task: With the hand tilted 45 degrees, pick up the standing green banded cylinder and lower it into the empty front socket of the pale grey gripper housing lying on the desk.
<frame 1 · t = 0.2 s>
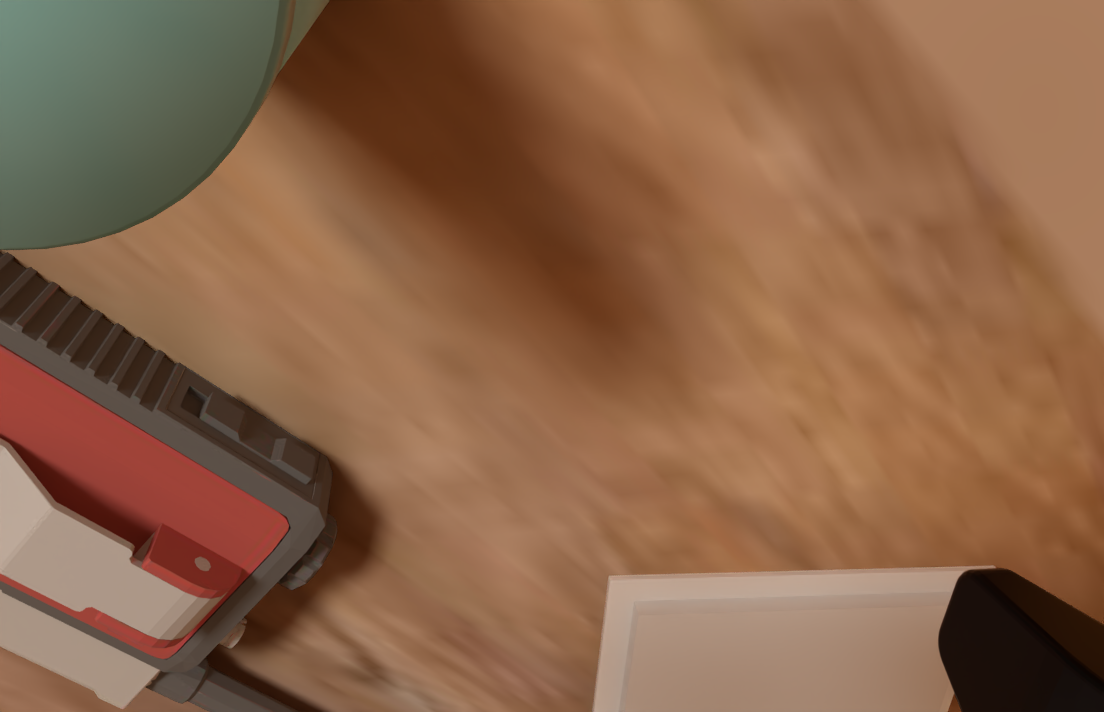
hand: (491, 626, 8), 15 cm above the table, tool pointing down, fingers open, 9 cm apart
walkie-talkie: (170, 509, 25), on the table
lid: (776, 656, 30), on the table
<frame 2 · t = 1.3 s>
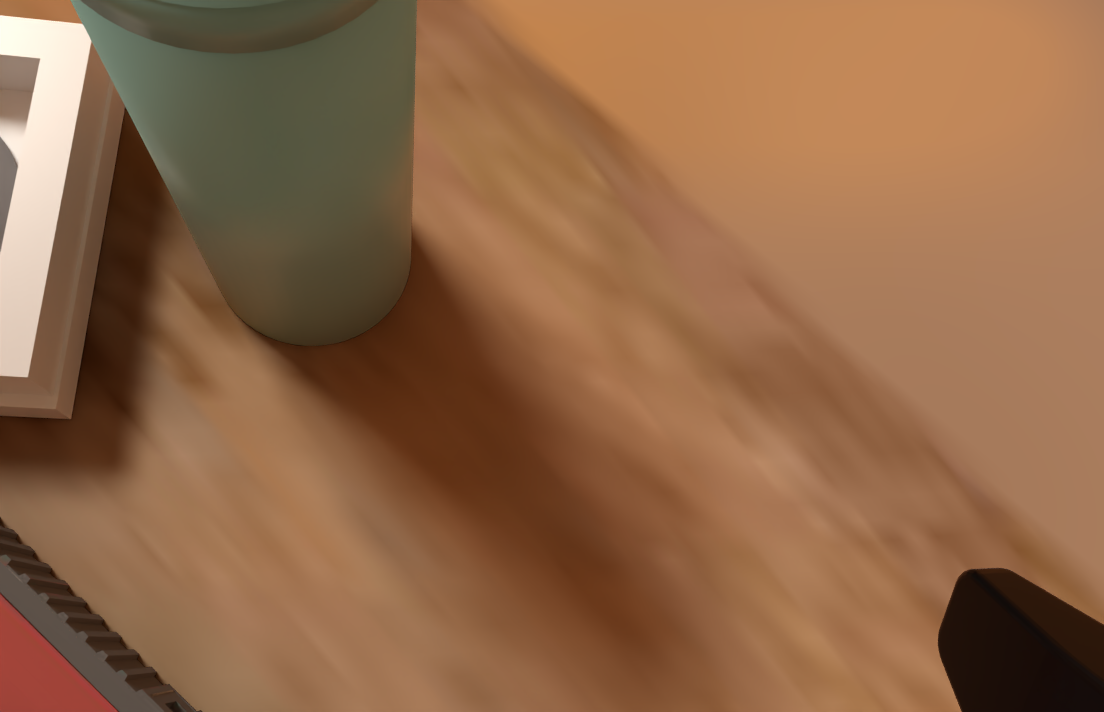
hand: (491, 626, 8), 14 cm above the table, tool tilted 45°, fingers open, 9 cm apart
green banded cylinder: (313, 254, 24), on the table
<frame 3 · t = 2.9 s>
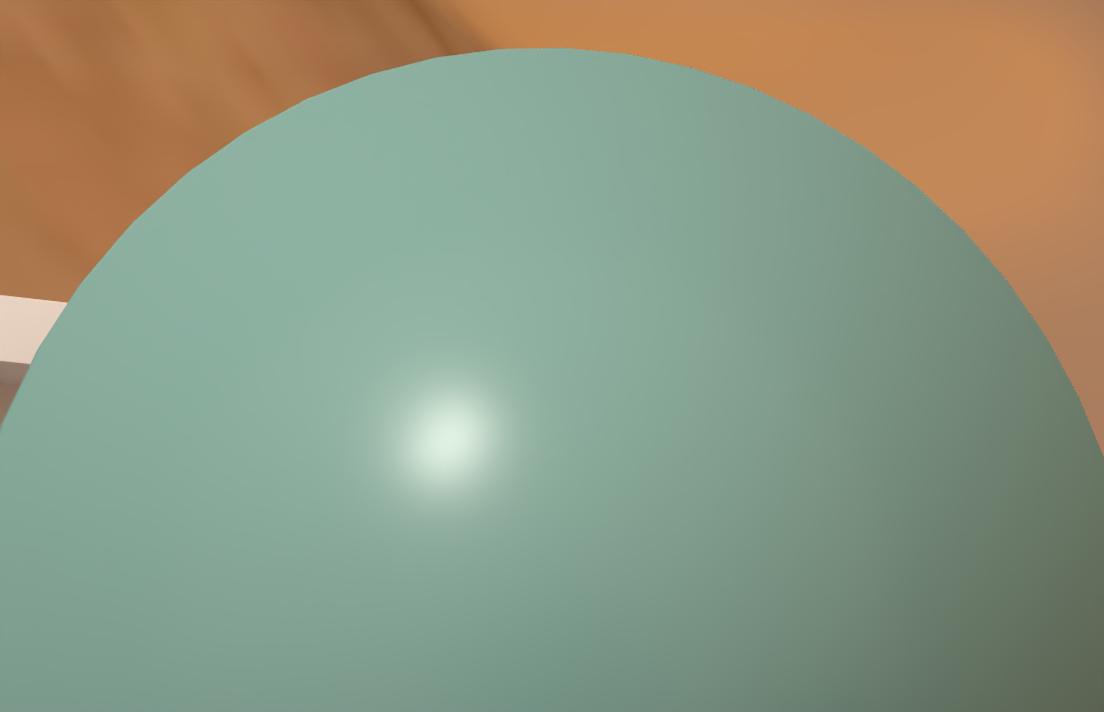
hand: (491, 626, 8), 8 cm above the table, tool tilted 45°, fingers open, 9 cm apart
green banded cylinder: (449, 628, 16), on the table
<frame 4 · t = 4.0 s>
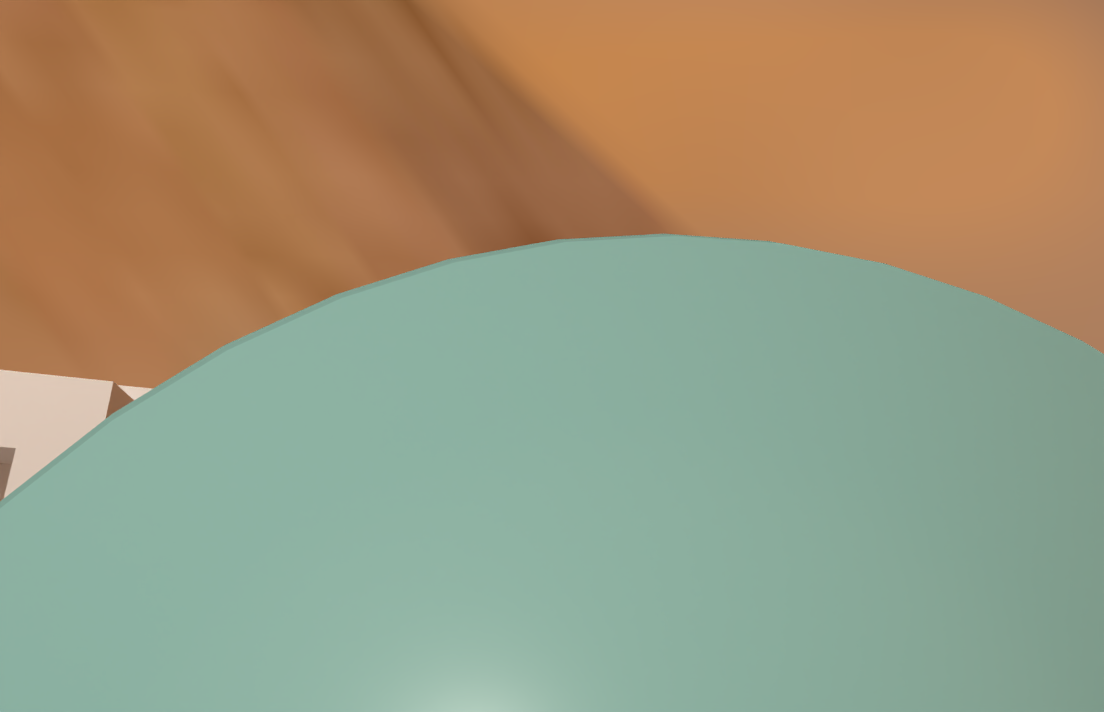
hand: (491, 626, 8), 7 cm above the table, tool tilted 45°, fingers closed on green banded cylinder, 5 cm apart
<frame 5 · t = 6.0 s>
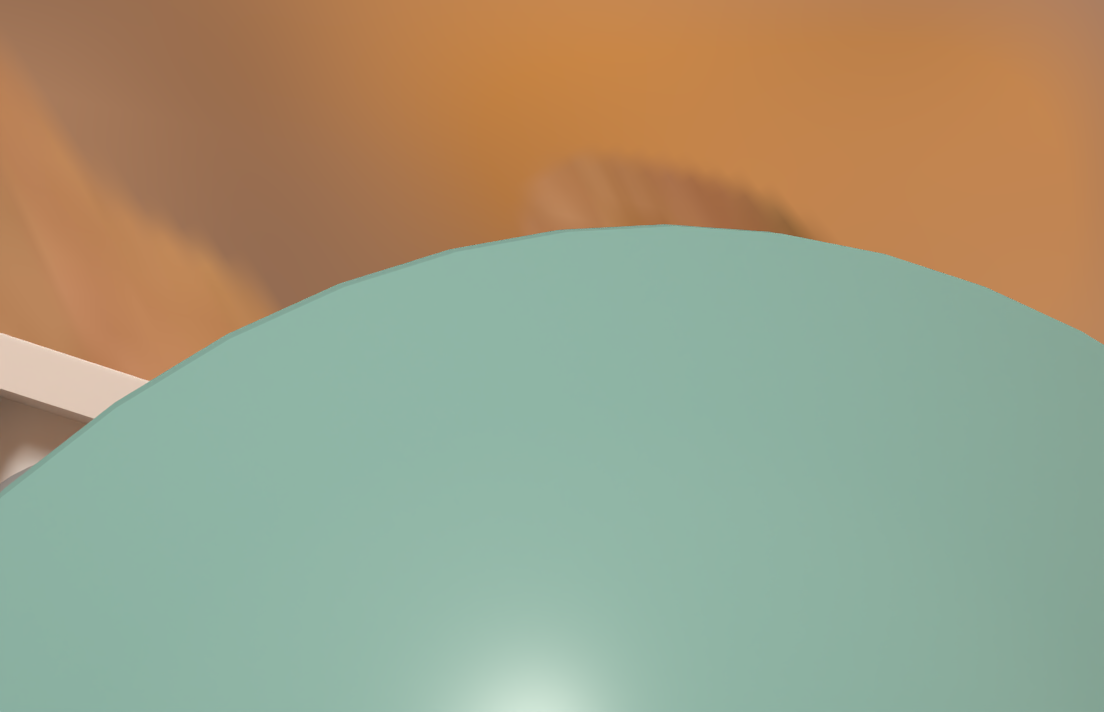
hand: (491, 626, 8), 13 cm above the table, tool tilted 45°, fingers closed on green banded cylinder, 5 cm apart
housing: (262, 643, 21), on the table
when the fingers open (9 cm above the table, at t = 7.4 s): green banded cylinder drops 1 cm, resting on housing.
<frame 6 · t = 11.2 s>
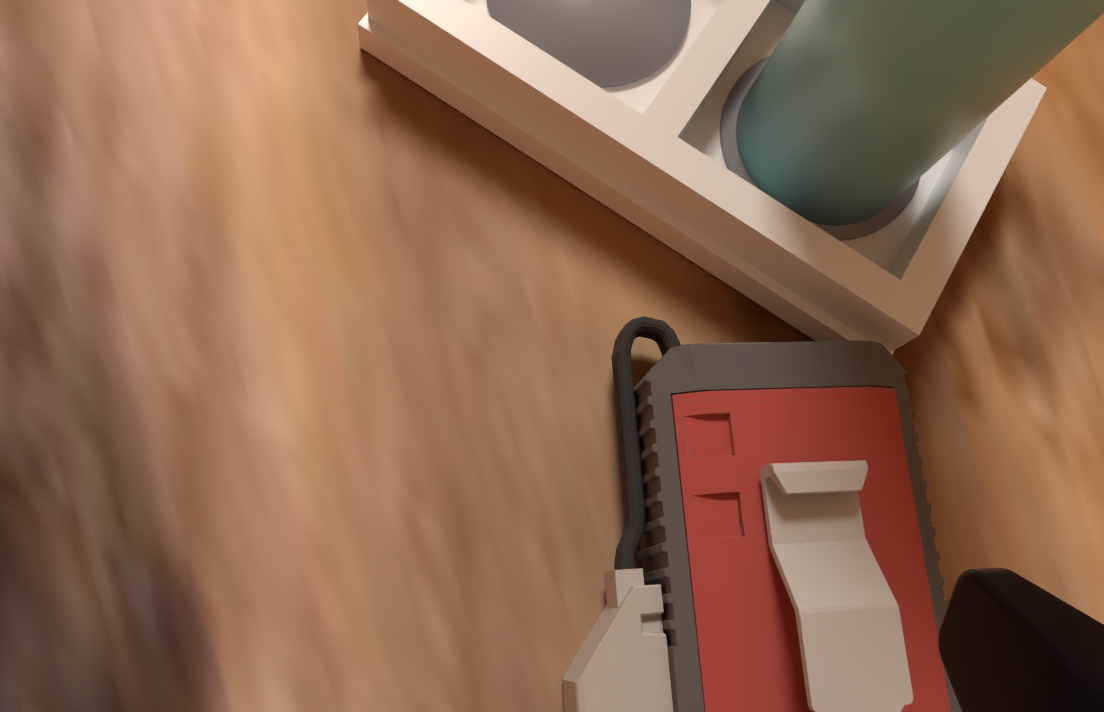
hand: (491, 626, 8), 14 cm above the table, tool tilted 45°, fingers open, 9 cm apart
green banded cylinder: (822, 142, 25), point 1 cm above the table, touching housing
housing: (693, 90, 26), on the table
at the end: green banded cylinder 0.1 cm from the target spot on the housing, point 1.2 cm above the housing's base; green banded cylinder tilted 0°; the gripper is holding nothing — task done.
